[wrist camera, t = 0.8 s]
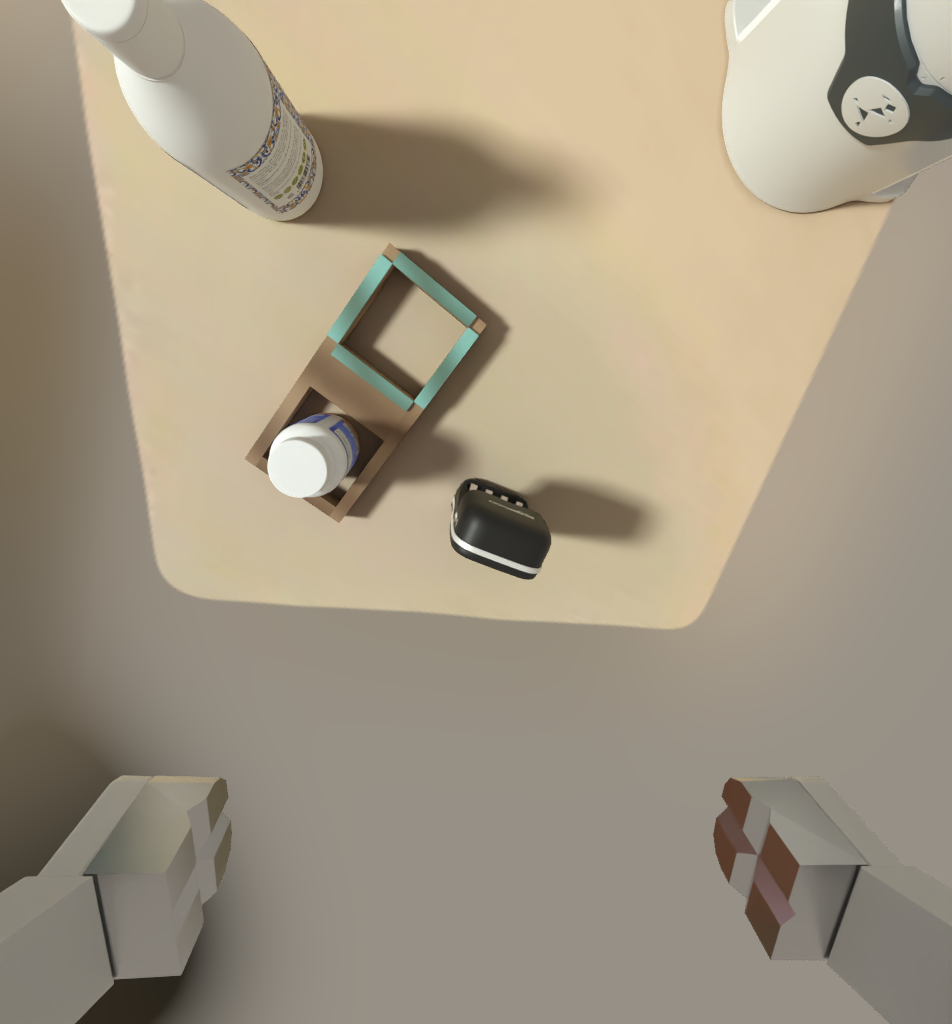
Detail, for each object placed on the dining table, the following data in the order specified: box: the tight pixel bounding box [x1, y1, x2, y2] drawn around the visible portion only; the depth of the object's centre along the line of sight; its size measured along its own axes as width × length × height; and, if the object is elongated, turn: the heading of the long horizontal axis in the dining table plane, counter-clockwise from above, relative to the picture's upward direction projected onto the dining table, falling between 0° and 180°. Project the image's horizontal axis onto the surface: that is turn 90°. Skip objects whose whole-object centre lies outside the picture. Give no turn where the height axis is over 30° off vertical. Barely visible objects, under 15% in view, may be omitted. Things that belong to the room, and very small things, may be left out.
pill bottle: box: [267, 413, 360, 498], centre depth 39 cm, size 5×5×10 cm
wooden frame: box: [245, 243, 486, 523], centre depth 41 cm, size 20×9×2 cm, turn 142°
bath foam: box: [61, 0, 323, 221], centre depth 28 cm, size 7×7×20 cm
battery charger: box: [450, 479, 551, 580], centre depth 40 cm, size 7×4×11 cm, turn 67°
